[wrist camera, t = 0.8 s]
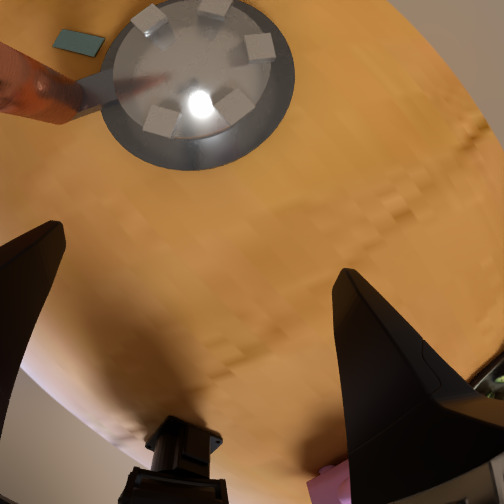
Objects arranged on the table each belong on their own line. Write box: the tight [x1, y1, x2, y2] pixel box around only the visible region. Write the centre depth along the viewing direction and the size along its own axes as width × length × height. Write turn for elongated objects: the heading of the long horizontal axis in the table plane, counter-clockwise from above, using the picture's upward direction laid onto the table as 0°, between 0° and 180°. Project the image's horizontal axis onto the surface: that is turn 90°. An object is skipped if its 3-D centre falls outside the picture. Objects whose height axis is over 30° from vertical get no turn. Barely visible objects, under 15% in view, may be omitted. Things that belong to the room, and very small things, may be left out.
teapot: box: [306, 459, 351, 504], centre depth 27 cm, size 15×13×11 cm
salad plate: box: [469, 352, 504, 401], centre depth 31 cm, size 19×18×5 cm
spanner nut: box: [0, 0, 276, 141], centre depth 12 cm, size 16×10×12 cm, turn 100°
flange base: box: [52, 0, 295, 171], centre depth 19 cm, size 14×21×2 cm, turn 55°
